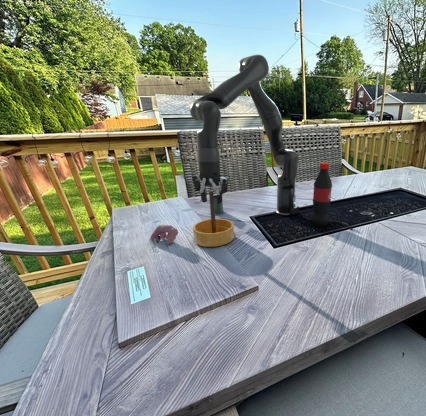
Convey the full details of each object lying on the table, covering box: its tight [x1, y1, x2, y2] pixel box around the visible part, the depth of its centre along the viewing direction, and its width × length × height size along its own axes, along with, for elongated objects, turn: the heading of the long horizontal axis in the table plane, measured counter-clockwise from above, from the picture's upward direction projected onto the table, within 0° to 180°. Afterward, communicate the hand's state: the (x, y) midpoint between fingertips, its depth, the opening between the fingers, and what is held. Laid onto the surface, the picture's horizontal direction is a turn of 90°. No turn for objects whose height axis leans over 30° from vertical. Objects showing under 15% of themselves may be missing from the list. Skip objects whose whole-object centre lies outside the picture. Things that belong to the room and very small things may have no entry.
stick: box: [208, 189, 216, 233], centre depth 104 cm, size 2×2×20 cm
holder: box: [214, 194, 224, 215], centre depth 133 cm, size 6×6×9 cm
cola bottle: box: [311, 162, 333, 228], centre depth 122 cm, size 8×8×30 cm
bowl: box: [192, 218, 235, 248], centre depth 106 cm, size 15×15×6 cm
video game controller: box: [150, 224, 179, 245], centre depth 104 cm, size 10×5×7 cm, turn 71°
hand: (212, 202), depth 102 cm, fingers open, 5 cm apart
